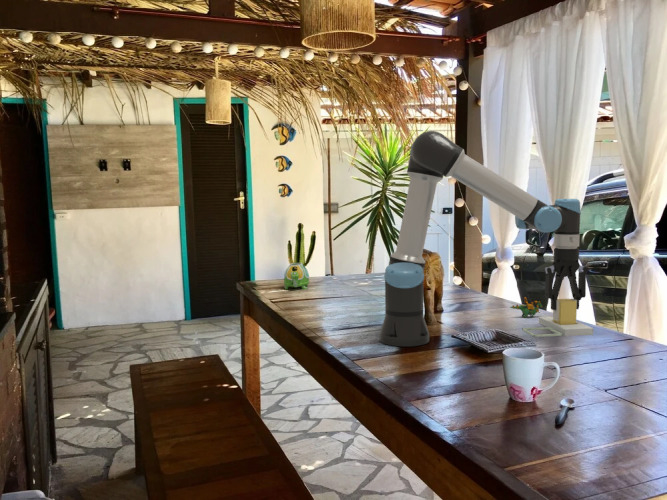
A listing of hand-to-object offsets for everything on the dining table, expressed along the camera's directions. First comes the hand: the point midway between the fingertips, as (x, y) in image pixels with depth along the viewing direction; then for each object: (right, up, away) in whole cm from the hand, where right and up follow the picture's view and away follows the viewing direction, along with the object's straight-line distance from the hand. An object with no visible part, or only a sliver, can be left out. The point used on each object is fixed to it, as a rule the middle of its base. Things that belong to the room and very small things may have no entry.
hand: (564, 319), depth 186 cm
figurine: (-6, -2, +18) cm, 19 cm away
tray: (-9, -5, -4) cm, 11 cm away
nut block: (0, -3, 0) cm, 3 cm away
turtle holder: (-92, +4, +93) cm, 131 cm away
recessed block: (0, -4, 0) cm, 4 cm away
